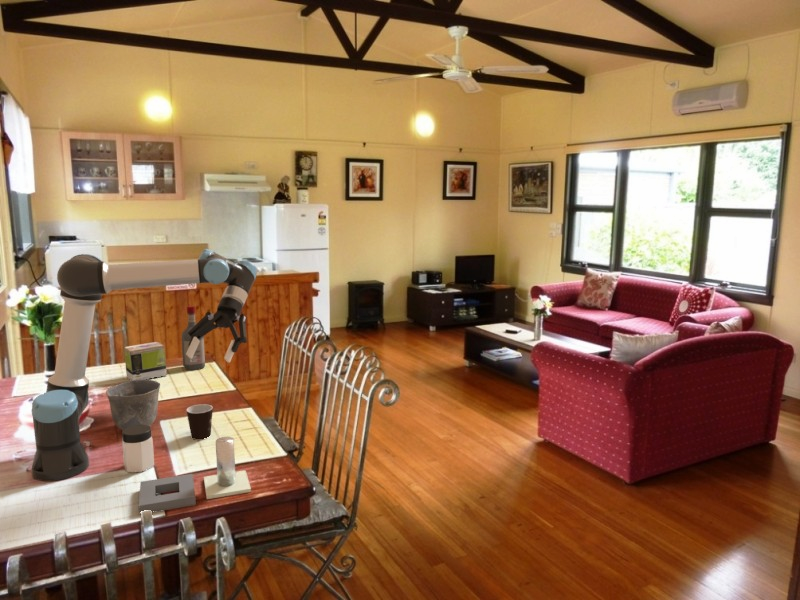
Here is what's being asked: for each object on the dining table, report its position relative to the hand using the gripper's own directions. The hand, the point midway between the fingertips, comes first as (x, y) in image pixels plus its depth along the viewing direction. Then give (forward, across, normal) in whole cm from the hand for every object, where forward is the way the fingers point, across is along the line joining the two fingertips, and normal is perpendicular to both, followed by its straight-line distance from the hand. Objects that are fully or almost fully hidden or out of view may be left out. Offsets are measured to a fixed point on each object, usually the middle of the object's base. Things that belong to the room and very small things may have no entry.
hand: (207, 358), depth 184 cm
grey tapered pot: (+14, +40, -32) cm, 53 cm away
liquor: (-35, +65, -81) cm, 110 cm away
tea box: (-21, +77, -68) cm, 105 cm away
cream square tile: (+34, -15, -12) cm, 39 cm away
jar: (+32, +18, -14) cm, 39 cm away
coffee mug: (+13, +13, -34) cm, 38 cm away
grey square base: (+41, -3, -5) cm, 42 cm away
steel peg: (+33, -15, -12) cm, 38 cm away
